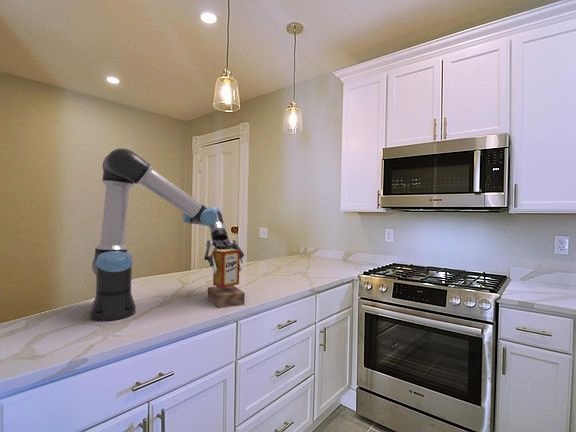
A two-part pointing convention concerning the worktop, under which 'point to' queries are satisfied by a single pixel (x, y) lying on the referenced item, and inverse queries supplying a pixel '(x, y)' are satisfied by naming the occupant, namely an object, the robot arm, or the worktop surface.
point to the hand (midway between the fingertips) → (228, 270)
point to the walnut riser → (225, 296)
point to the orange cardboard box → (226, 267)
